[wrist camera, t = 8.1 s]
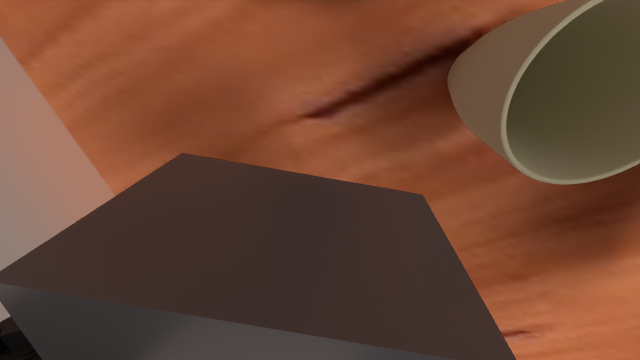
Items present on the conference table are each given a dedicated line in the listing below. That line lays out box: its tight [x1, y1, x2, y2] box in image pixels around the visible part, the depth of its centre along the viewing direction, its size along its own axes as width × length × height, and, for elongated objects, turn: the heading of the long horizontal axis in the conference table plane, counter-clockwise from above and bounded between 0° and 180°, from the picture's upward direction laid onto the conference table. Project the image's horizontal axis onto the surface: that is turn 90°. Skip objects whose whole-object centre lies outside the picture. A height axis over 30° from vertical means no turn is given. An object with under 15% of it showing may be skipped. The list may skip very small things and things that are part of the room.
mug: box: [447, 0, 640, 184], centre depth 16 cm, size 11×10×12 cm
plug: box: [0, 153, 516, 360], centre depth 10 cm, size 10×10×8 cm
